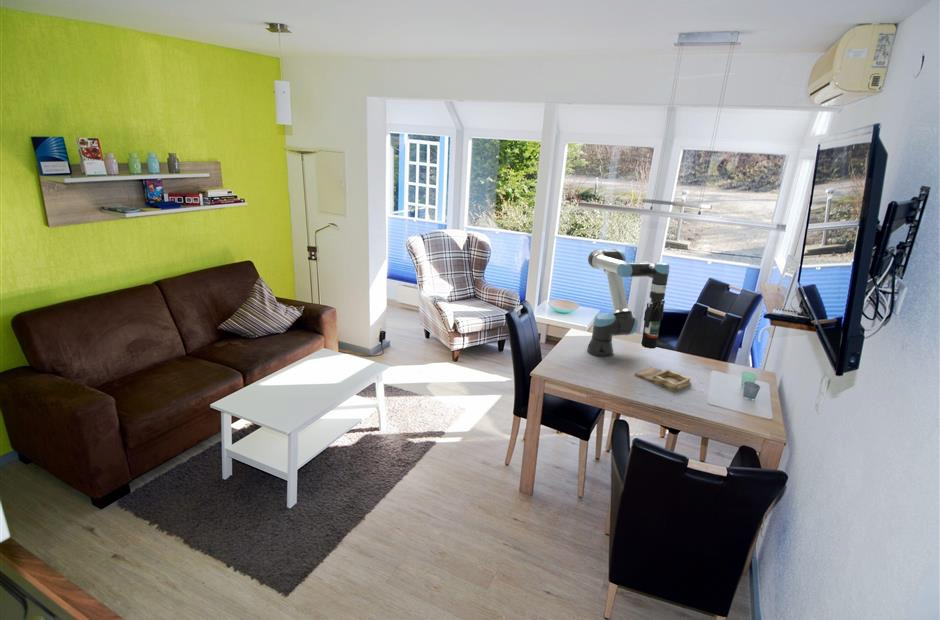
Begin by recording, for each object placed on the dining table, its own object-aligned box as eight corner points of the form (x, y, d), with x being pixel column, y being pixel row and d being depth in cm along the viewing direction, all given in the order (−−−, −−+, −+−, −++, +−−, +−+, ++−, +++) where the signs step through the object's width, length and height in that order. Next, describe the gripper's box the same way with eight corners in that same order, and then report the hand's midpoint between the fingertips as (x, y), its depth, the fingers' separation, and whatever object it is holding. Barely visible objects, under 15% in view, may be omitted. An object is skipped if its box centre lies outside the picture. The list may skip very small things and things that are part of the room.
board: (634, 374, 276) (635, 368, 275) (650, 368, 286) (652, 362, 285) (674, 392, 258) (676, 385, 257) (690, 384, 268) (692, 378, 267)
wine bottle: (654, 344, 284) (662, 292, 275) (657, 349, 276) (666, 296, 267) (640, 343, 284) (648, 291, 275) (643, 348, 277) (651, 295, 268)
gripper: (653, 295, 262) (646, 336, 269) (674, 290, 274) (667, 330, 281) (640, 292, 267) (634, 332, 274) (662, 287, 280) (655, 326, 287)
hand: (651, 331), depth 278 cm, fingers closed on wine bottle, 7 cm apart
